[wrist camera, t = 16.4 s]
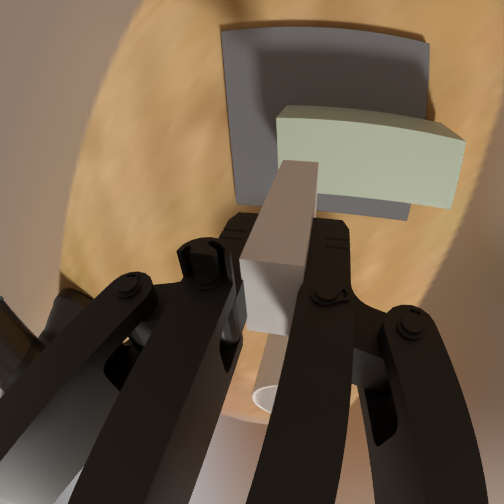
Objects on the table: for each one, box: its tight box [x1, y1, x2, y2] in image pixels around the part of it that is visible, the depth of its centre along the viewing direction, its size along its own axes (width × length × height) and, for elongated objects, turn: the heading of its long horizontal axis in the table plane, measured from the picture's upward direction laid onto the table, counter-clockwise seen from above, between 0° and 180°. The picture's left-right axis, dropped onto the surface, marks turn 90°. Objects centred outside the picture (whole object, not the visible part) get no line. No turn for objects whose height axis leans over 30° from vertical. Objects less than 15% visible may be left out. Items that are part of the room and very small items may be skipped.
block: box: [276, 105, 466, 209], centre depth 16 cm, size 4×4×11 cm
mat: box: [221, 27, 430, 221], centre depth 18 cm, size 14×14×1 cm
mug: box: [252, 333, 289, 413], centre depth 26 cm, size 9×12×11 cm
